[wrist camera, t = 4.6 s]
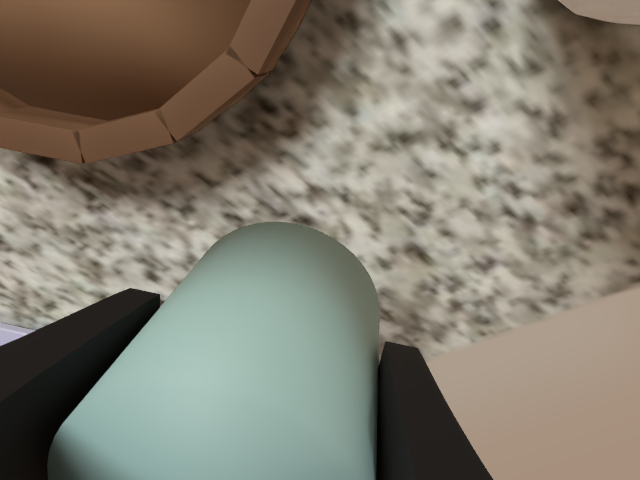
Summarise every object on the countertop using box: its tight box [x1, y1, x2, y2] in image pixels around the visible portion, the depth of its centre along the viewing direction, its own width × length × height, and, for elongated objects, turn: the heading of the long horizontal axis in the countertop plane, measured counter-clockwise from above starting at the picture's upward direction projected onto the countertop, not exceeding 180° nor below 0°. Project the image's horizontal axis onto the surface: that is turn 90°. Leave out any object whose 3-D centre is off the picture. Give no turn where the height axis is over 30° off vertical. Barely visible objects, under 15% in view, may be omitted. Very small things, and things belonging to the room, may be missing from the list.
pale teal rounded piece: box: [47, 222, 380, 480], centre depth 8 cm, size 4×4×5 cm
